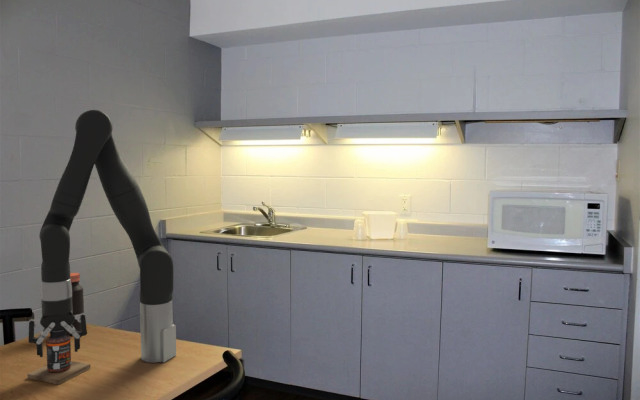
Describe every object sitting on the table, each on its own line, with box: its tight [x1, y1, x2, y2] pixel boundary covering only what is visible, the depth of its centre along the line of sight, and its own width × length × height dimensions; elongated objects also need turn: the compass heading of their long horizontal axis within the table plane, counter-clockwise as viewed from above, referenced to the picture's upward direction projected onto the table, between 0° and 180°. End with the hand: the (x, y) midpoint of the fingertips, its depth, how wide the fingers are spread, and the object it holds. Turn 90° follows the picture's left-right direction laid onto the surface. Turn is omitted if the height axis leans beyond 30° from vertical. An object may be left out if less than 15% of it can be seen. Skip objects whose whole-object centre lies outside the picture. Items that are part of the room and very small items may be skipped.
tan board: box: [27, 360, 91, 385], centre depth 143 cm, size 11×11×1 cm
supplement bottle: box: [45, 330, 72, 373], centre depth 143 cm, size 6×6×11 cm
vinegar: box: [66, 272, 85, 336], centre depth 175 cm, size 7×7×20 cm
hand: (59, 353), depth 143 cm, fingers open, 8 cm apart
